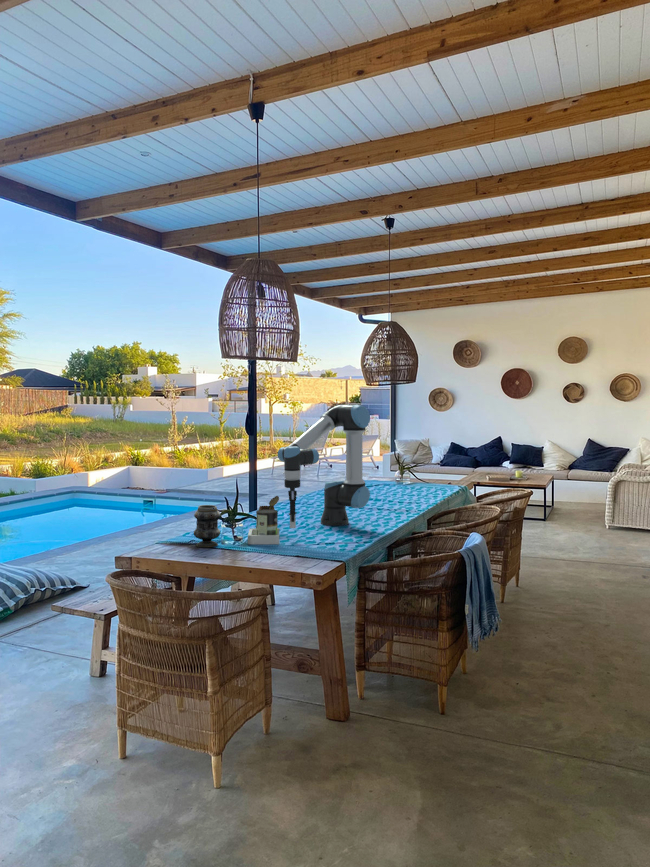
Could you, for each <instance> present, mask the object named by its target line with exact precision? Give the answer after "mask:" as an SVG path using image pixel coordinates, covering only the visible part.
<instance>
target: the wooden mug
mask: <svg viewBox="0 0 650 867" xmlns="http://www.w3.org/2000/svg"><path fill="white" fill-rule="evenodd" d="M279 500H280V497H279V496H278V495H276V496H274V497H273V498H271V499H270V500H269V502H268V504H269V505H259V508H258V510H263V509H272V510H276V509H275V507H274V506H276V505H277V504H278V502H279Z"/></svg>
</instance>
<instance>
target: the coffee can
mask: <svg viewBox="0 0 650 867" xmlns="http://www.w3.org/2000/svg"><path fill="white" fill-rule="evenodd" d="M255 513H256V518H257V519H256V518H255V519H256V525H255V526H256V527H255V529H256V535H277V528H278V523H279V522H278V519H279V518H278V514H279V511H278V510H277V509H275V510H272V509H263V510H259V509H258V510H256V511H255Z"/></svg>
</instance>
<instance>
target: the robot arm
mask: <svg viewBox="0 0 650 867" xmlns="http://www.w3.org/2000/svg"><path fill="white" fill-rule="evenodd" d="M370 422H371V414H370V412H369V410H368V408H367V407H366V406H364V405H361V404H338V405H335V406H333V407H331V408H330V409H328V410H327V411H326V412H324V413H323V414H321V415H320V417H319V420H317V421H316V422H315V423H314V424H313V425H311V426H310V427H309V428H308V429H307V430H306V431H304V432H303V433H301V435H300V436H299V437H298V438H296V439H295V440H294V441H293V442H292V443H290V444H289V445H288V446H282V447H280V448H279V449H278V451H277V457H278V458H277V459H278V460H279V461H280V462H283V463H284V471H283V472H282V473H283V475H284V488H287V489H289V490H288V492H287V496H288V501H289V513H288V516H289V529H296V528H297V527H296V525H297V524H296V516H297V514H298V513H297V512H296V501H297V495H298V494H297V493H298V492H297V490H296V489H298V488H300V487H301V466H309V465H314V464H317V463H318V462H319V460H320V452H319V451H318V450H317V449H315V448H311V447H312V446H313V445H314V444H316V443H317V442H318V441H319V440H320V439H321V438H322V437H323V436H325V435H326V434H327V433H328V432H329V431H333V430H334V429H336V428H338V427H342V428H343V429H342V430H343V432H344V434H345V453H346V454H345V458H346V460H345V464H346V465H345V470H346V471H345V475H346V476H345V480H335V481H333V480H332V481H327V482H325V484H324V488H323V489H324V490H323V491H324V492H323V494H324V495H323V498H324V499H323V500H324V501H323V502H324V503H323V512H322V514H321V517H320V523H321V525H324V526H331V527H334V526H337V527H339V526H346V525H348V524H349V516H348V512H347V510H346V508H347V507H349V508H353V509H361V508H364V507H365V506H367V504H368V503H369V500H370V496H371V492H370V489H369V487H367V486H366V481H365V480H364V479H363V434H364V433H365V431H366V428H367V427H369V424H370Z"/></svg>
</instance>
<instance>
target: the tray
mask: <svg viewBox="0 0 650 867" xmlns="http://www.w3.org/2000/svg"><path fill="white" fill-rule="evenodd" d="M247 545H280V528H278V527H277V535H256V528H248V533H247Z"/></svg>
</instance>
